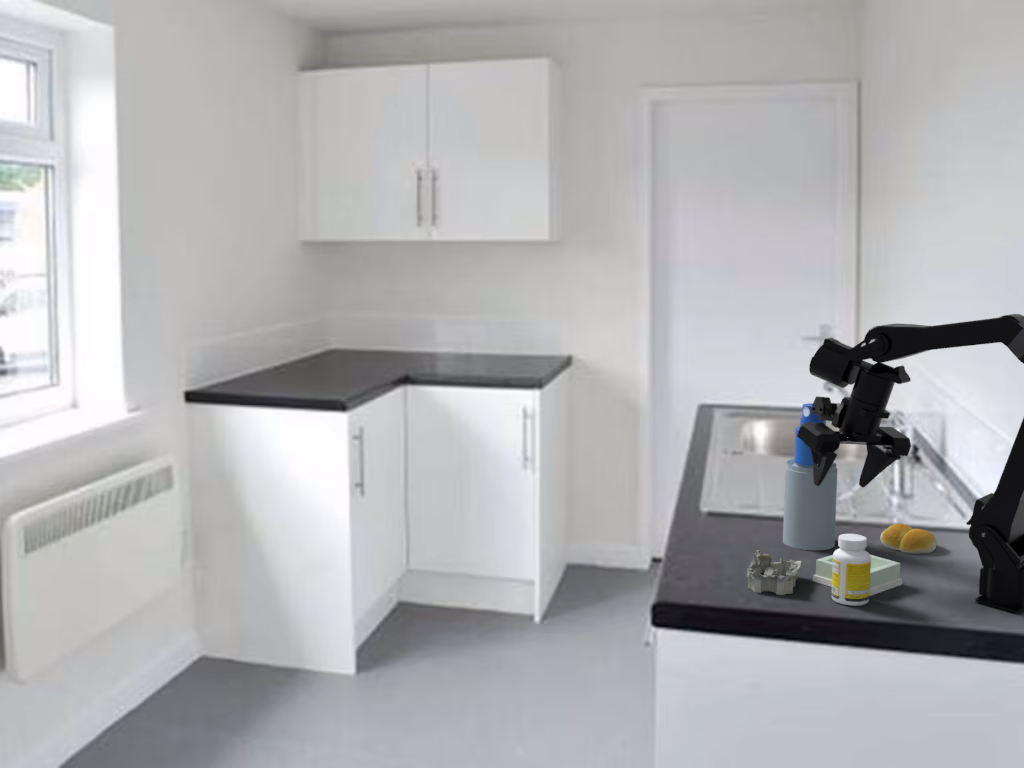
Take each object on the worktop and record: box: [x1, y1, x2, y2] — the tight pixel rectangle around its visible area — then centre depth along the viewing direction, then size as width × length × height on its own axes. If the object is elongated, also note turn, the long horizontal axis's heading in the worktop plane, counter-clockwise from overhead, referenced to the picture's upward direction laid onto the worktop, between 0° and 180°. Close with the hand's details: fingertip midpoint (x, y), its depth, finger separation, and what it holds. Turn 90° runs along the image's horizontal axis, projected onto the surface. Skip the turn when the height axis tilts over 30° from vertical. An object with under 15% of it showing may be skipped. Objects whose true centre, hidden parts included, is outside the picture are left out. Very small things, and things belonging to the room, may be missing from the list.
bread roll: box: [879, 523, 937, 555], centre depth 179 cm, size 8×9×4 cm
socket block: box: [812, 554, 903, 597], centre depth 160 cm, size 10×10×4 cm
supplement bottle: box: [831, 533, 871, 607], centre depth 152 cm, size 5×5×10 cm
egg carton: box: [746, 549, 802, 596], centre depth 161 cm, size 11×8×4 cm
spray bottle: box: [782, 402, 838, 551], centre depth 180 cm, size 9×9×25 cm
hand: (839, 485), depth 169 cm, fingers open, 9 cm apart
